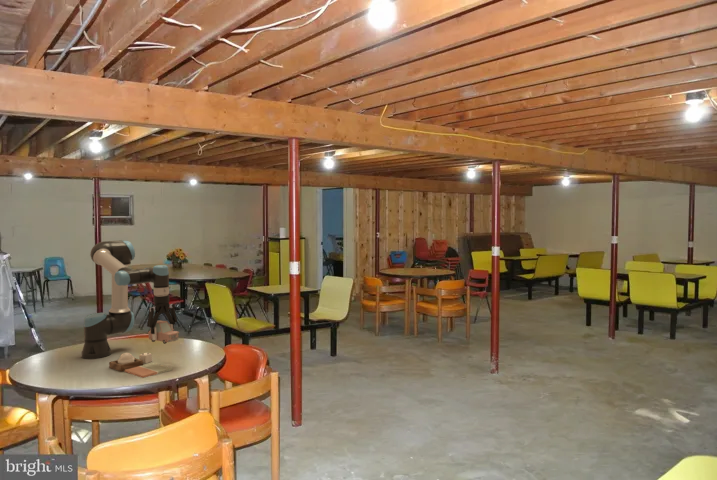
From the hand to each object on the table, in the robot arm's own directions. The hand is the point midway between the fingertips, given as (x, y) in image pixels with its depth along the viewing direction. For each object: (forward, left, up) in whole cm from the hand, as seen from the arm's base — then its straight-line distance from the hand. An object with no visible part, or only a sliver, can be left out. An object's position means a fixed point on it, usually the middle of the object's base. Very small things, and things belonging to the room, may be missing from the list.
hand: (162, 338), depth 283 cm
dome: (-16, -12, -14) cm, 24 cm away
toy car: (+1, 0, -2) cm, 2 cm away
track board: (0, -9, -15) cm, 18 cm away
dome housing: (-16, -12, -15) cm, 25 cm away
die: (-16, -1, -15) cm, 22 cm away
